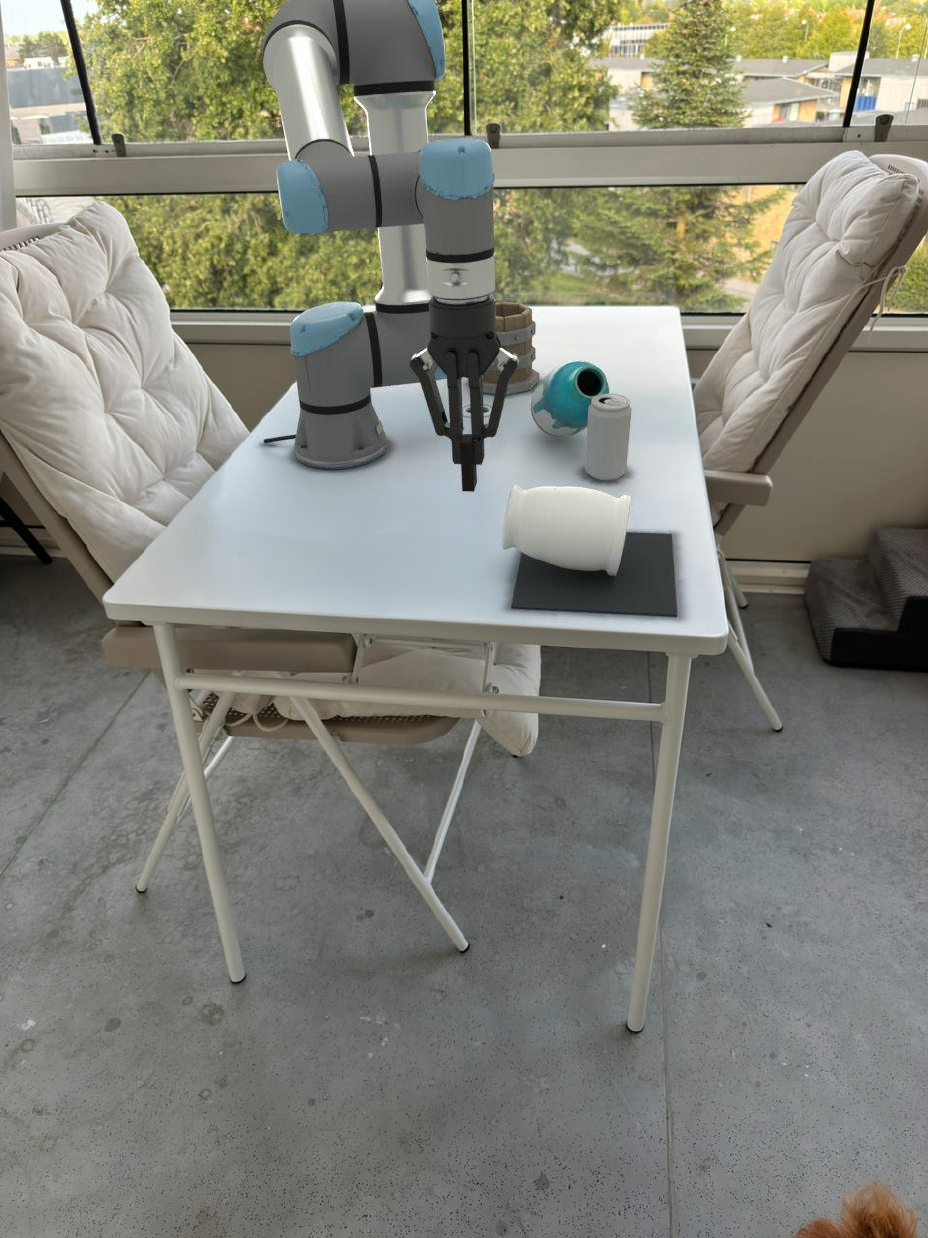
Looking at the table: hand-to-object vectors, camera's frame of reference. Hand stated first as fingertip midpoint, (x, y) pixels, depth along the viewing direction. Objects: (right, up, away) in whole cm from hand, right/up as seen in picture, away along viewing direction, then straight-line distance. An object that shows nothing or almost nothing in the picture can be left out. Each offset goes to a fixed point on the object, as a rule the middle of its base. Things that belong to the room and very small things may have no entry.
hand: (469, 486), depth 117 cm
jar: (+5, -4, +2) cm, 6 cm away
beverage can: (+21, +6, +28) cm, 36 cm away
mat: (+16, -10, +4) cm, 20 cm away
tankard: (+4, +29, +64) cm, 70 cm away
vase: (+15, +19, +42) cm, 48 cm away
